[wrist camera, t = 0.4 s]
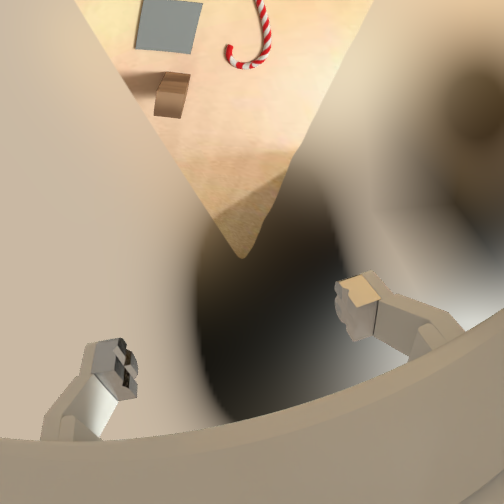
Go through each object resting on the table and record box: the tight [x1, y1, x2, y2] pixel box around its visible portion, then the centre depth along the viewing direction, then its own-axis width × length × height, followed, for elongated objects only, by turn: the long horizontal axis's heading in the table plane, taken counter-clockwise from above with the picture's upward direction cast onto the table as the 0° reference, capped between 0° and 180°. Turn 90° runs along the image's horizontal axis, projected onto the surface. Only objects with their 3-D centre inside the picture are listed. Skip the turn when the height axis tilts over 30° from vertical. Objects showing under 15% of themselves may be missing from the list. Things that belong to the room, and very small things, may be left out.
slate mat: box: [136, 0, 203, 54], centre depth 40 cm, size 10×10×1 cm
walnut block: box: [154, 72, 190, 119], centre depth 46 cm, size 4×4×10 cm
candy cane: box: [226, 0, 271, 69], centre depth 42 cm, size 8×1×15 cm
